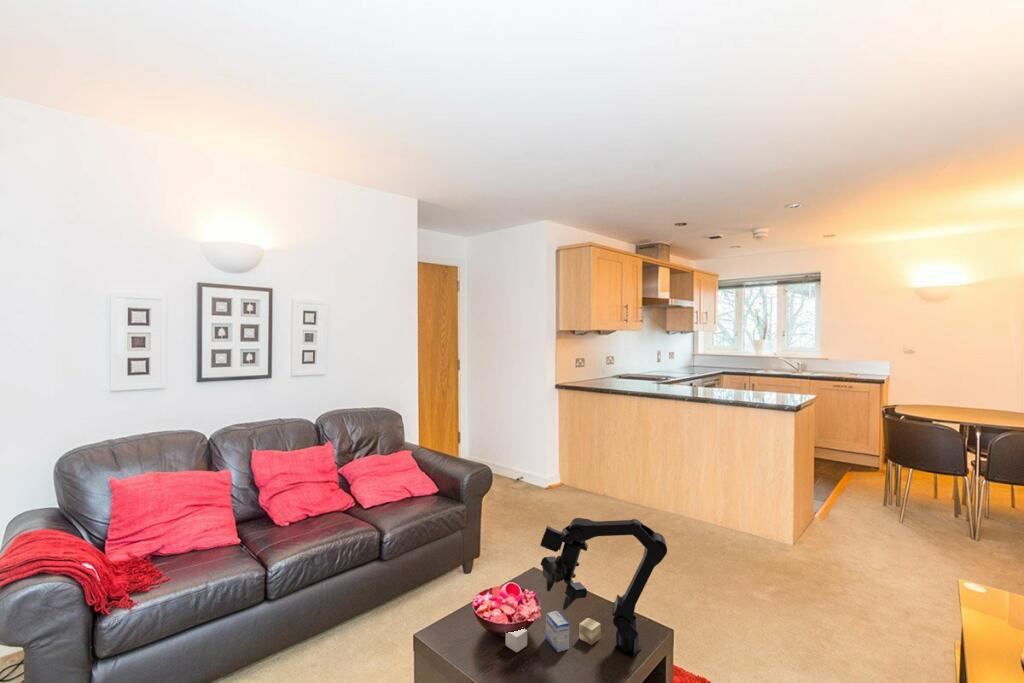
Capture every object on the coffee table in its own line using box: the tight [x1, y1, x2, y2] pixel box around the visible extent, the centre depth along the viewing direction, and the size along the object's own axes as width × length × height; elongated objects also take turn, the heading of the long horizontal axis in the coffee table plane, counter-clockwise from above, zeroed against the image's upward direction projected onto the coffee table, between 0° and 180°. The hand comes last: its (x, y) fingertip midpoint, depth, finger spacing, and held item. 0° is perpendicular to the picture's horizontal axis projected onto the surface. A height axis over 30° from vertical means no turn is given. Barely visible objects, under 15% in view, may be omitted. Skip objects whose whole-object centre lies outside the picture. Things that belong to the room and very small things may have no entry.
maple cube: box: [578, 617, 601, 646], centre depth 160 cm, size 5×5×5 cm
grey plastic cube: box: [505, 628, 528, 653], centre depth 155 cm, size 5×5×5 cm
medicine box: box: [545, 610, 570, 653], centre depth 156 cm, size 8×4×9 cm, turn 25°
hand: (556, 600), depth 159 cm, fingers open, 9 cm apart
